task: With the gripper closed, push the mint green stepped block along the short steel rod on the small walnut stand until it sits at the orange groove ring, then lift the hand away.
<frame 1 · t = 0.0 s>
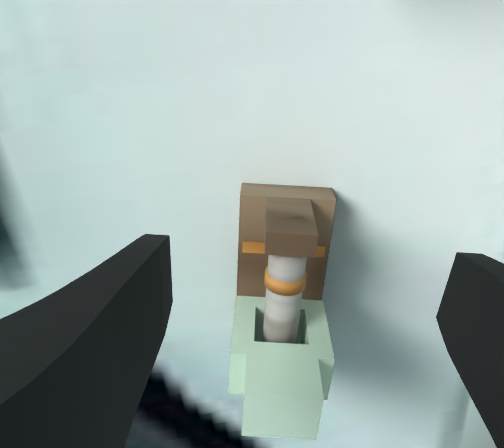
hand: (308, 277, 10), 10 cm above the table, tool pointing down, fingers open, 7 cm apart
rod stand: (279, 263, 22), on the table
mint green stepped block: (279, 359, 19), point 5 cm above the table, slide at 0.0 cm
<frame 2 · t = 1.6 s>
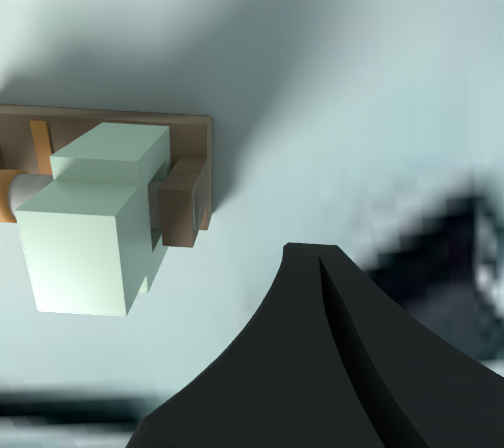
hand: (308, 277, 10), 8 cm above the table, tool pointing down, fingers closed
rod stand: (107, 162, 18), on the table
mint green stepped block: (113, 215, 13), point 5 cm above the table, slide at 0.0 cm
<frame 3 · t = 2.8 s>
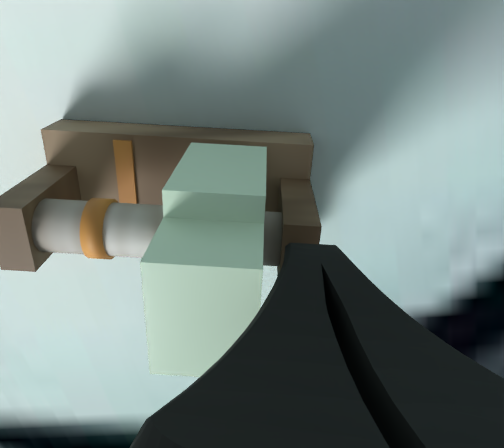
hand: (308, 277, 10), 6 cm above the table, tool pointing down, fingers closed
rod stand: (186, 183, 16), on the table
mint green stepped block: (217, 252, 11), point 5 cm above the table, slide at 0.3 cm, touching gripper
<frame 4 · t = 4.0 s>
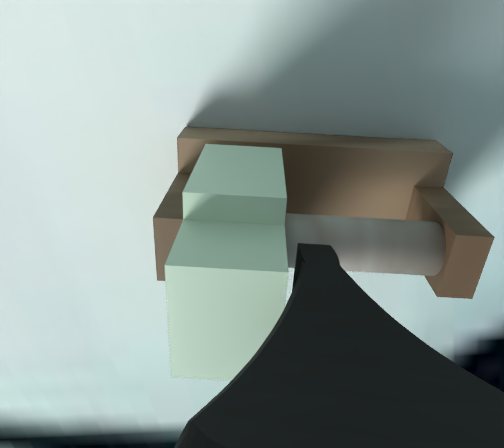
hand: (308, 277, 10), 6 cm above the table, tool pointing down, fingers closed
rod stand: (303, 190, 16), on the table
mint green stepped block: (234, 254, 11), point 5 cm above the table, slide at 4.3 cm, touching gripper, rod stand
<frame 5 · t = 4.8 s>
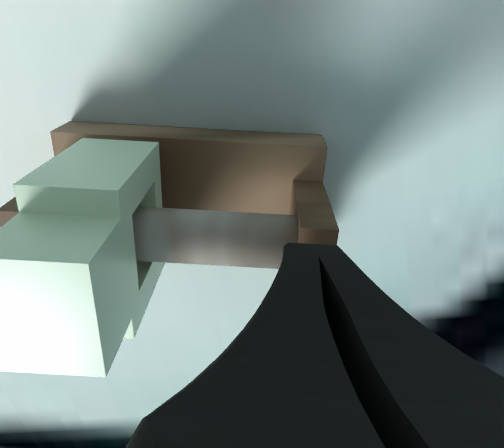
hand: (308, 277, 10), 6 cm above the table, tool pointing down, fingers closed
rod stand: (196, 185, 16), on the table
mint green stepped block: (93, 248, 11), point 5 cm above the table, slide at 4.1 cm
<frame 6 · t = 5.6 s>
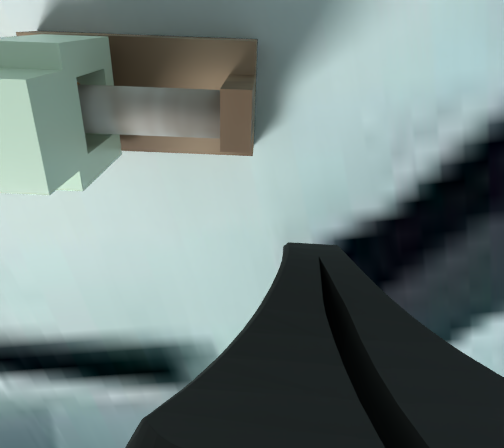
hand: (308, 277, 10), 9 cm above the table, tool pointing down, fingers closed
rod stand: (150, 91, 18), on the table
mint green stepped block: (47, 114, 13), point 5 cm above the table, slide at 4.1 cm
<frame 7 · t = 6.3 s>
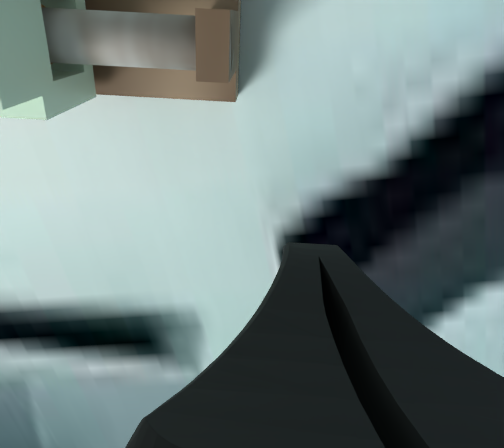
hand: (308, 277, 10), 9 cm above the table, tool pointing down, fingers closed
rod stand: (128, 33, 17), on the table
mint green stepped block: (9, 35, 12), point 5 cm above the table, slide at 4.1 cm
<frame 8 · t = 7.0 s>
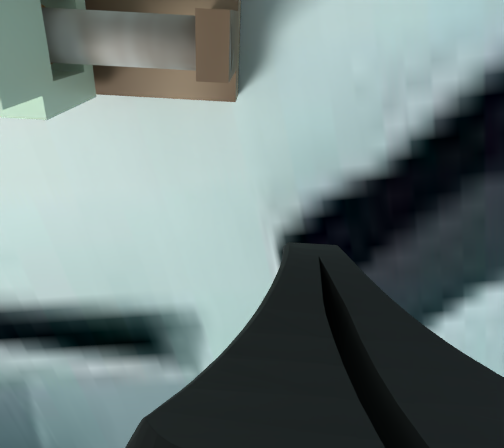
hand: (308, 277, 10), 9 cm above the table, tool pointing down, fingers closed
rod stand: (128, 33, 17), on the table
mint green stepped block: (9, 35, 12), point 5 cm above the table, slide at 4.1 cm
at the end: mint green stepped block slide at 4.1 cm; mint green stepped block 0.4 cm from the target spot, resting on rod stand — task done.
